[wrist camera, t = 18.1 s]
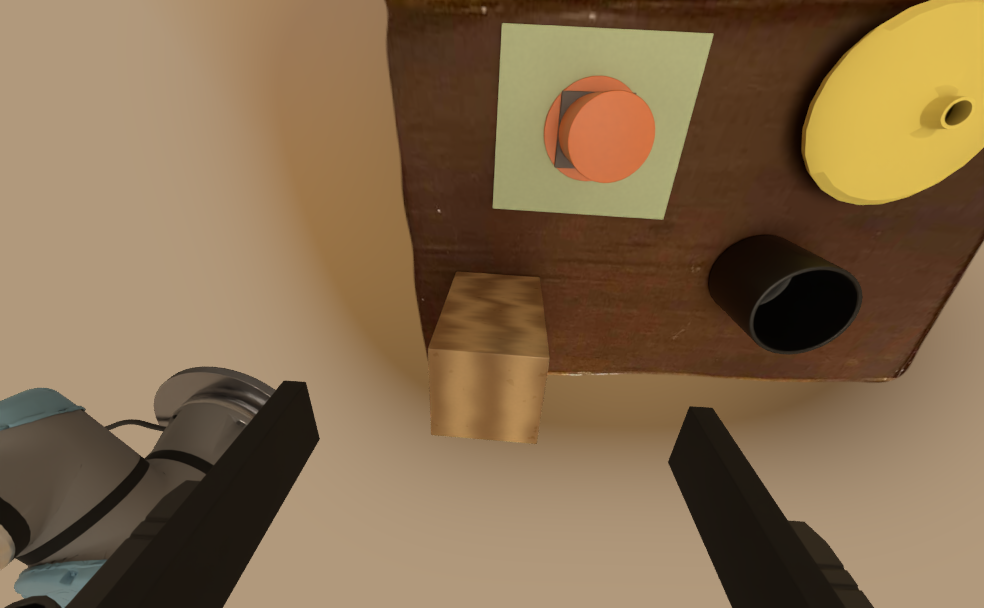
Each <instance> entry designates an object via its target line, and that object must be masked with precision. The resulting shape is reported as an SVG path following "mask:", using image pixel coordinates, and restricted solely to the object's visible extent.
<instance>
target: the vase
mask: <svg viewBox="0 0 984 608" xmlns="http://www.w3.org/2000/svg"><path fill="white" fill-rule="evenodd" d="M982 148H984V0H930V1H927V2H924V3H921V4H918V5H915V6H913V7H910V8H908V9H907V10H905V11H903V12H901V13H900V14H898V15H896V16H895V17H893V18H891V19H890V20H888V21H886V22H885V23H883V24H881V25H880V26H878V27H877V28H875V29H873V30H872V31H870V32H869V33H868V34H867V35H865V36H864V37H863V38H862V39H861V40H860V41H858V42H857V43H856V44H855V45H854V46H853V47H852V48H850V49H849V50H848V51H847V52H846V53H845V54H844V55H843V56H842V57H841V58H840V60H839V61H838V62H837V63H836V65H835V66H834V67H833V68H832V69H831V71H830V72H829V73H828V74H827V76H826V77H825V78H824V79H823V81H822V83H821V85H820V87H819V89H818V90H817V92H816V94H815V96H814V98H813V100H812V101H811V103H810V105H809V109H808V112H807V115H806V119H805V122H804V125H803V128H802V148H801V152H802V156H803V159H804V163H805V167H806V170H807V171H808V173H809V174H810V176H811V177H812V178H813V180H814V181H815V182H816V184H817V185H818V186H819V187H820V189H821V190H823V191H824V192H826V193H827V194H829V195H830V196H832V197H834V198H835V199H837V200H839V201H844V202H848V203H852V204H856V205H869V204H884V203H887V202H891V201H895V200H899V199H903V198H906V197H909V196H911V195H913V194H915V193H918V192H920V191H922V190H924V189H926V188H928V187H931V186H933V185H935V184H936V183H938V182H940V181H942V180H943V179H945V178H946V177H947V176H949V175H950V174H952V173H953V172H955V171H956V170H958V169H959V168H961V167H962V166H964V165H965V164H966V163H967V162H968V161H970V160H971V159H972V158H973V157H974V156H975V155H976V154H977V153H978V152H979V151H980V150H981V149H982Z"/></svg>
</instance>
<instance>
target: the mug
mask: <svg viewBox="0 0 984 608" xmlns="http://www.w3.org/2000/svg"><path fill="white" fill-rule="evenodd" d="M709 290H710V294H711V296H712V298H713V299H714V301H715V302H716V303H717V304H718V305H719V306H720V307H721V308H722V309H723V310H724V311H725V312H726V313H727V314H728V315H729V316H730V317H731V318H732V319H733V320H734V321H735V322H736V323H737V324H738V325H739V326H740V327H741V328H742V329H743V330H744V331H745V332H746V333H747V334H748V335H749V336H750V337H751V338H752V339H753V340H754V341H755V342H756V343H757V344H758V345H759V346H760V347H762V348H764V349H765V350H768V351H771V352H774V353H779V354H798V353H803V352H807V351H811V350H814V349H816V348H819V347H821V346H823V345H825V344H827V343H829V342H831V341H832V340H834V339H835V338H837V337H838V336H839V335H840V334H842V333H843V332H844V331H845V330H846V329H847V328H848V327H849V326H850V325H851V323H852V322H853V321H854V319H855V318H856V316H857V314H858V312H859V310H860V307H861V303H862V290H861V287H860V284H859V282H858V281H857V279H856V278H855V277H854V276H853V275H852V274H851V273H849V272H848V271H846V270H844V269H842V268H840V267H838V266H836V265H835V264H833V263H831V262H829V261H827V260H825V259H823V258H821V257H819V256H817V255H815V254H813V253H811V252H809V251H807V250H805V249H803V248H801V247H799V246H797V245H796V244H794V243H792V242H790V241H788V240H786V239H784V238H781V237H778V236H772V235H763V236H755V237H751V238H748V239H745V240H742V241H740V242H738V243H736V244H734V245H733V246H732V247H730V248H729V249H727V250H726V251H725V252H724V253H723V254H722V255H721V256H720V257H719V258H718V260H717V261H716V263H715V264H714V266H713V268H712V270H711V273H710V277H709Z"/></svg>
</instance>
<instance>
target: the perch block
mask: <svg viewBox="0 0 984 608" xmlns="http://www.w3.org/2000/svg"><path fill="white" fill-rule="evenodd" d="M549 360H550V356H549V348H548V340H547V331H546V323H545V315H544V306H543V298H542V290H541V281H540V277H529V276H515V275H501V274H487V273H473V272H459V271H456V274H455V277H454V279H453V282H452V285H451V288H450V290H449V293H448V296H447V298H446V301H445V304H444V306H443V309H442V312H441V315H440V317H439V320H438V323H437V325H436V328H435V331H434V334H433V336H432V339H431V342H430V344H429V347H428V365H429V389H430V390H429V391H430V415H431V434H432V435H438V436H449V437H461V438H473V439H485V440H496V441H509V442H520V443H531V444H537V439H538V432H539V425H540V419H541V412H542V406H543V399H544V393H545V386H546V380H547V373H548V367H549Z"/></svg>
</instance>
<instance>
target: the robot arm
mask: <svg viewBox="0 0 984 608" xmlns="http://www.w3.org/2000/svg"><path fill="white" fill-rule="evenodd" d="M85 410H86V409H85V408H84V407H82V406H77V405H76V404H74V403H73V402H71V401H70V400H69V399H67V398H66V397H64V396H63V395H61V394H60V393H59V392H57V391H55V390H52V389H49V388H34V389H29V390H26V391H23V392H21V393H18V394H16V395H14V396H11V397H9V398H7V399H4V400H2V401H0V570H2V569H3V568H4V567H6V566H7V565H8V564H9V563H10V562H11V561H12V560H13V559H14V558H16V559H18V560H19V561H21V562H23V563H25V564H26V565H28V568H27V569H25V570H24V571H23V572H22V573H21V574H20V575H19V579H18V580H17V581H16V582H15V585H14V589H15V591H16V592H17V593H19V594H21V595H22V597H23V598H24V599H23V600H20V601H17V602H14V603H12V604H10V605H8V606H7V607H5V608H223V606H224V604H225V603H226V601H227V599H228V597H229V596H230V594H231V592H232V591H233V588H234V587H235V585H236V584H237V582H238V580H239V578H240V577H241V575H242V573H243V571H244V570H245V568H246V566H247V564H248V563H249V561H250V559H251V557H252V556H253V554H254V552H255V551H256V549H257V547H258V545H259V544H260V542H261V540H262V538H263V537H264V535H265V533H266V531H267V530H268V528H269V526H270V524H271V523H272V521H273V519H274V517H275V516H276V514H277V512H278V511H279V509H280V507H281V505H282V504H283V502H284V500H285V498H286V497H287V495H288V493H289V491H290V490H291V488H292V486H293V484H294V483H295V481H296V479H297V477H298V476H299V474H300V472H301V471H302V469H303V467H304V465H305V464H306V462H307V460H308V458H309V457H310V455H311V453H312V451H313V450H314V448H315V446H316V445H317V442H318V441H319V439H320V438H319V434H318V430H317V426H316V422H315V418H314V414H313V410H312V406H311V401H310V397H309V393H308V389H307V385H306V382H297V381H283V383H282V384H281V385H280V386H279V387H278V388H277V390H276V391H275V392H274V393H273V394H272V396H271V397H270V398H269V399H268V400H267V402H266V403H265V404H264V405H263V406H262V408H261V409H260V410H259V411H258V410H257V409H256V408H254V407H252V406H251V405H249V404H247V403H245V402H243V401H241V400H239V399H236V398H233V397H230V396H226V395H221V394H200V395H196V396H193V397H191V398H190V399H188V400H187V401H186V402H184V403H183V404H182V405H181V406H180V407H179V408H178V409H177V410H176V411H175V412H174V413H173V415H172V417H171V419H170V420H169V424H168V425H167V427H165V426H160V425H156V424H151V423H148V422H145V421H141V420H123V421H119V422H116V423H114V424H111V425H108V426H106V427H103V426H102V425H101V424H100V423H98V422H97V421H96V420H95V419H93V418H92V417H91V416H90V415H88V414H87V413H86V412H84V411H85ZM127 424H135V425H140V426H143V427H146V428H150V429H154V430H159V431H163V433H162V435H161V436H160V438H159V440H158V442H157V443H156V445H155V447H154V449H153V450H152V452H151V453H150V454H149V455H148V456H147V457H146V458H145V459H144V458H143V457H141V456H140V455H139V454H138V453H136V452H135V451H134V450H133V449H131V448H130V447H129V446H128V445H126V444H125V443H124V442H122V441H121V440H120V439H118V438H117V437H116V436H115V435H114V434H112V433H111V432H110V431H109V430H111V429H113V428H116V427H118V426H122V425H127ZM668 463H669V465H670V467H671V470H672V472H673V475H674V477H675V479H676V481H677V484H678V486H679V488H680V490H681V493H682V495H683V497H684V499H685V501H686V504H687V506H688V508H689V511H690V513H691V515H692V518H693V520H694V522H695V524H696V527H697V529H698V531H699V533H700V535H701V538H702V540H703V543H704V545H705V547H706V549H707V551H708V554H709V556H710V558H711V561H712V563H713V565H714V567H715V570H716V572H717V574H718V577H719V579H720V581H721V583H722V586H723V588H724V590H725V592H726V595H727V597H728V599H729V601H730V604H731V606H732V608H874V607H873V606H872V604H871V603H870V602H869V600H868V599H867V597H866V596H865V595H864V593H863V592H862V591H860V590H859V589H858V585H857V584H856V582H855V581H854V579H853V578H852V577H851V575H850V574H849V573H848V571H846V570H844V567H843V564H842V563H841V561H840V560H839V559H838V557H837V556H836V555H835V553H834V552H833V550H832V549H831V548H830V546H829V545H828V544H827V543H826V541H825V540H823V539H822V538H821V537H820V536H819V535H818V534H817V533H816V532H814V530H813V529H812V528H811V527H809V526H808V525H807V524H806V523H805V522H800V521H788V520H787V519H786V517H785V516H784V514H783V513H782V511H781V510H780V508H779V507H778V505H777V504H776V502H775V501H774V499H773V498H772V496H771V495H770V493H769V492H768V490H767V489H766V488H765V486H764V484H763V483H762V481H761V480H760V478H759V477H758V475H757V474H756V472H755V471H754V469H753V468H752V466H751V465H750V463H749V462H748V460H747V459H746V457H745V456H744V455H743V453H742V451H741V450H740V448H739V447H738V445H737V444H736V442H735V441H734V439H733V438H732V436H731V435H730V433H729V432H728V430H727V429H726V427H725V426H724V424H723V423H722V421H721V420H720V419H719V417H718V416H717V414H716V413H715V411H714V409H713V408H706V407H689V409H688V412H687V414H686V417H685V420H684V422H683V425H682V427H681V430H680V433H679V435H678V438H677V440H676V443H675V446H674V448H673V451H672V453H671V456H670V458H669V461H668Z"/></svg>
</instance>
